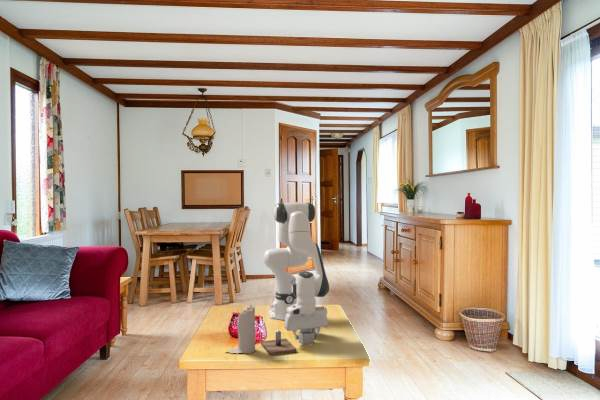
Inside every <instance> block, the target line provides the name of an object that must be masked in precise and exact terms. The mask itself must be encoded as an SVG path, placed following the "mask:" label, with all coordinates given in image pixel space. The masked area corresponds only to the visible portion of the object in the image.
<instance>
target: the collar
mask: <svg viewBox="0 0 600 400" xmlns="http://www.w3.org/2000/svg"><path fill="white" fill-rule="evenodd" d="M298 336H299V339H298V343H299V344H301V346H302V347H305V346H312V345H315V337H314V333H313V332H311V331H310V330H307V331H300V330H298Z"/></svg>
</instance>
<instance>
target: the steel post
mask: <svg viewBox="0 0 600 400" xmlns="http://www.w3.org/2000/svg"><path fill="white" fill-rule="evenodd" d="M281 339H282V332H281V330H279V329H278V330H276V331H275V340H276V346H281Z"/></svg>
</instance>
